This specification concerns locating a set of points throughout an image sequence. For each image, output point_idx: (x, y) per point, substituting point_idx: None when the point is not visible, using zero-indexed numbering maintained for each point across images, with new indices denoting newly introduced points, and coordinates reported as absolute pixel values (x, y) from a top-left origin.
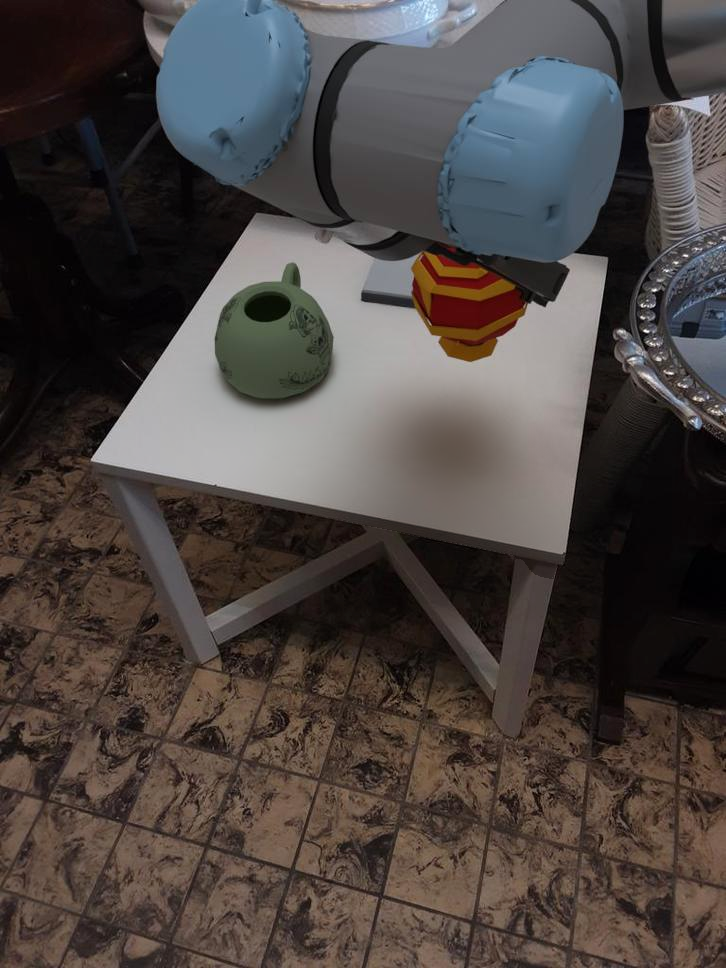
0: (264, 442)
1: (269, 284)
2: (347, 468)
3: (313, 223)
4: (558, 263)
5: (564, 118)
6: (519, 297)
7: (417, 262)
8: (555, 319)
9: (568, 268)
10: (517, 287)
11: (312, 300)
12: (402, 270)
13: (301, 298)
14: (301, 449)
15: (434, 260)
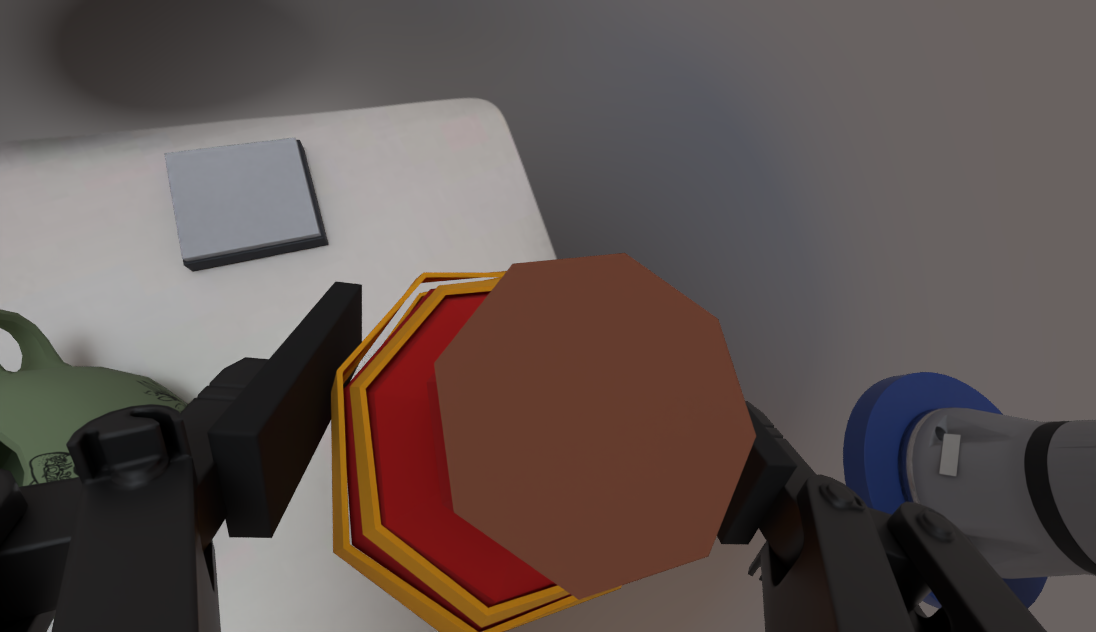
0: None
1: None
2: (351, 609)
3: None
4: (1026, 614)
5: None
6: (753, 572)
7: (354, 557)
8: (491, 198)
9: (946, 519)
10: (730, 539)
11: (76, 403)
12: (235, 194)
13: (38, 428)
14: (252, 627)
15: (432, 580)
